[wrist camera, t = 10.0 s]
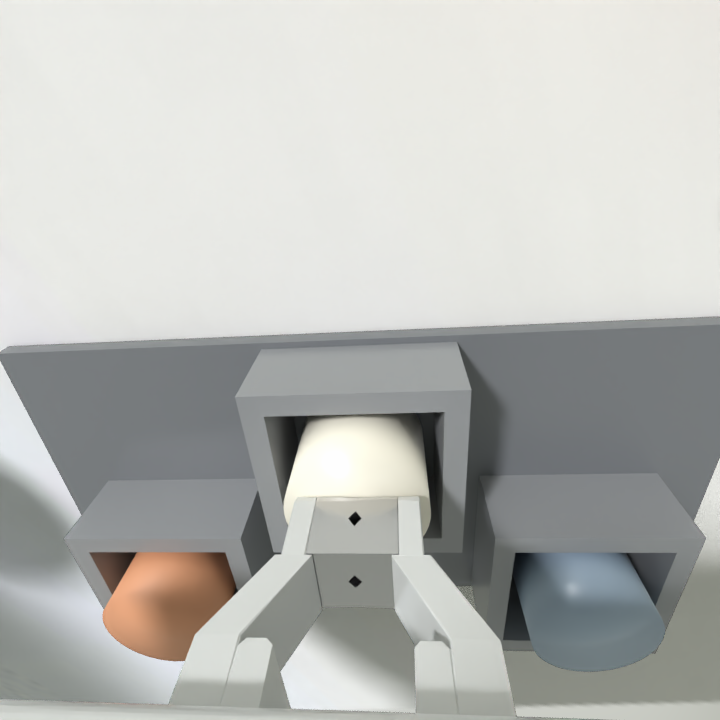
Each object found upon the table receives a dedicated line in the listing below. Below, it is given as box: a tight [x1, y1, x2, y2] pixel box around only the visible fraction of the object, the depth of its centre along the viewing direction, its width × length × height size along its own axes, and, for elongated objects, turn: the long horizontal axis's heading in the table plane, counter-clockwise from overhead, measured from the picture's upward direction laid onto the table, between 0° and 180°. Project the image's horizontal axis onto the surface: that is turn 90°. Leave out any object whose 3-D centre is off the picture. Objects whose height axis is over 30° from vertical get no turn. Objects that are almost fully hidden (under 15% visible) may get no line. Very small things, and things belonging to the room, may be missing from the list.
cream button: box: [283, 413, 431, 536], centre depth 12 cm, size 4×4×3 cm
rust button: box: [103, 552, 236, 661], centre depth 15 cm, size 4×4×3 cm
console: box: [0, 317, 720, 653], centre depth 14 cm, size 22×11×3 cm, turn 94°
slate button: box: [512, 553, 665, 672], centre depth 14 cm, size 4×4×3 cm
